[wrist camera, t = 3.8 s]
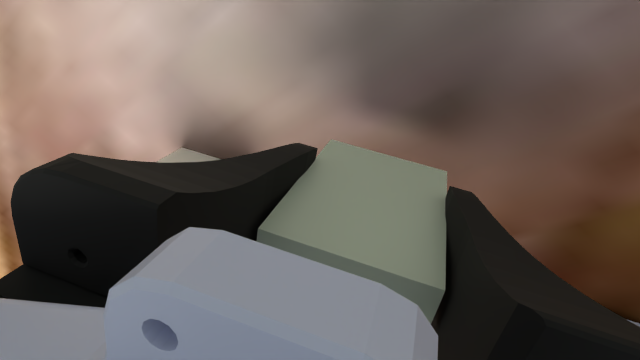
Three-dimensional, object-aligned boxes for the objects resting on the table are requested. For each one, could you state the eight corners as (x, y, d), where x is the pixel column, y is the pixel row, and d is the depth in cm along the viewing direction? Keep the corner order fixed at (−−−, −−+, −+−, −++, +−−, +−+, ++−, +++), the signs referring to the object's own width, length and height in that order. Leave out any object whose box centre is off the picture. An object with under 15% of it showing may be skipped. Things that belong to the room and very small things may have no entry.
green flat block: (447, 171, 13) (445, 290, 8) (435, 202, 13) (427, 333, 8) (331, 139, 14) (258, 228, 8) (325, 169, 14) (253, 271, 9)
